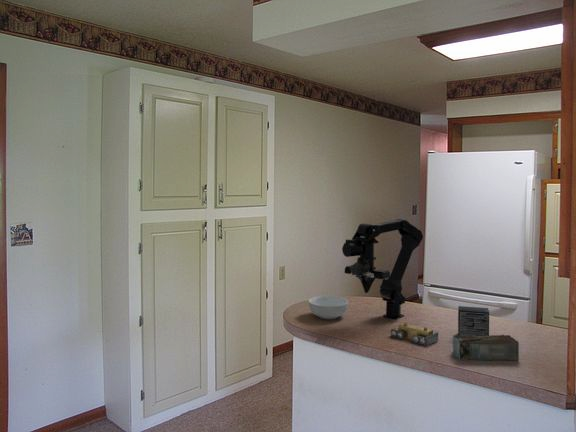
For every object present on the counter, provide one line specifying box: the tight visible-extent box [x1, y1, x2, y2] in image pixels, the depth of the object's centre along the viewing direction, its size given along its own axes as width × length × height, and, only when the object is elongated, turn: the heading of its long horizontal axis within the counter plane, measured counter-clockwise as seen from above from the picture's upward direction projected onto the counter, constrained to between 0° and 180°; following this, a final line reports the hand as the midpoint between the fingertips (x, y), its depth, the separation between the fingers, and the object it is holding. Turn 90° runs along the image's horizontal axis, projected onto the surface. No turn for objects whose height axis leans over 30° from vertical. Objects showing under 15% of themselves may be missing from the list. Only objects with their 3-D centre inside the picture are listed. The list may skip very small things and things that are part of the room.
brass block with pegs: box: [397, 322, 434, 341], centre depth 170 cm, size 4×12×5 cm, turn 46°
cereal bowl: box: [308, 295, 349, 320], centre depth 198 cm, size 17×17×7 cm
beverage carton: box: [452, 334, 520, 361], centre depth 153 cm, size 8×19×7 cm, turn 87°
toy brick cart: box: [390, 328, 439, 347], centre depth 170 cm, size 9×15×3 cm, turn 45°
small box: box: [457, 305, 490, 336], centre depth 172 cm, size 11×6×10 cm, turn 71°
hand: (366, 292), depth 190 cm, fingers closed
